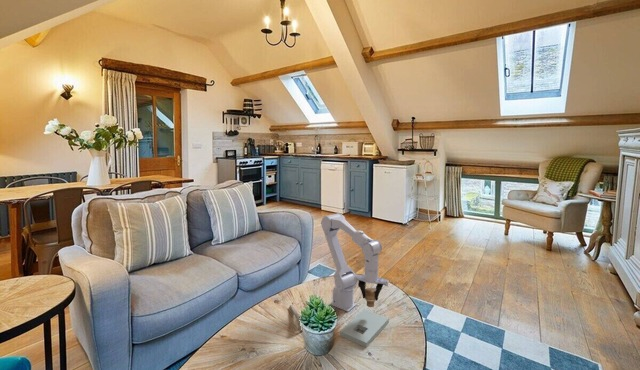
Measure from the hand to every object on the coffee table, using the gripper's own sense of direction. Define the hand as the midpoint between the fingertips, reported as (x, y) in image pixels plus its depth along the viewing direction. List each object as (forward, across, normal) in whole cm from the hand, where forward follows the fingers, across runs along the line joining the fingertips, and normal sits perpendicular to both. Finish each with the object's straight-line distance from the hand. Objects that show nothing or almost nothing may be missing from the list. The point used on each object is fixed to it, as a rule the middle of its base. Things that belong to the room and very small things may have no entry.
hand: (370, 298), depth 134 cm
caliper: (+11, +31, +10) cm, 34 cm away
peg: (+3, 0, 0) cm, 3 cm away
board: (+10, +1, +7) cm, 12 cm away
